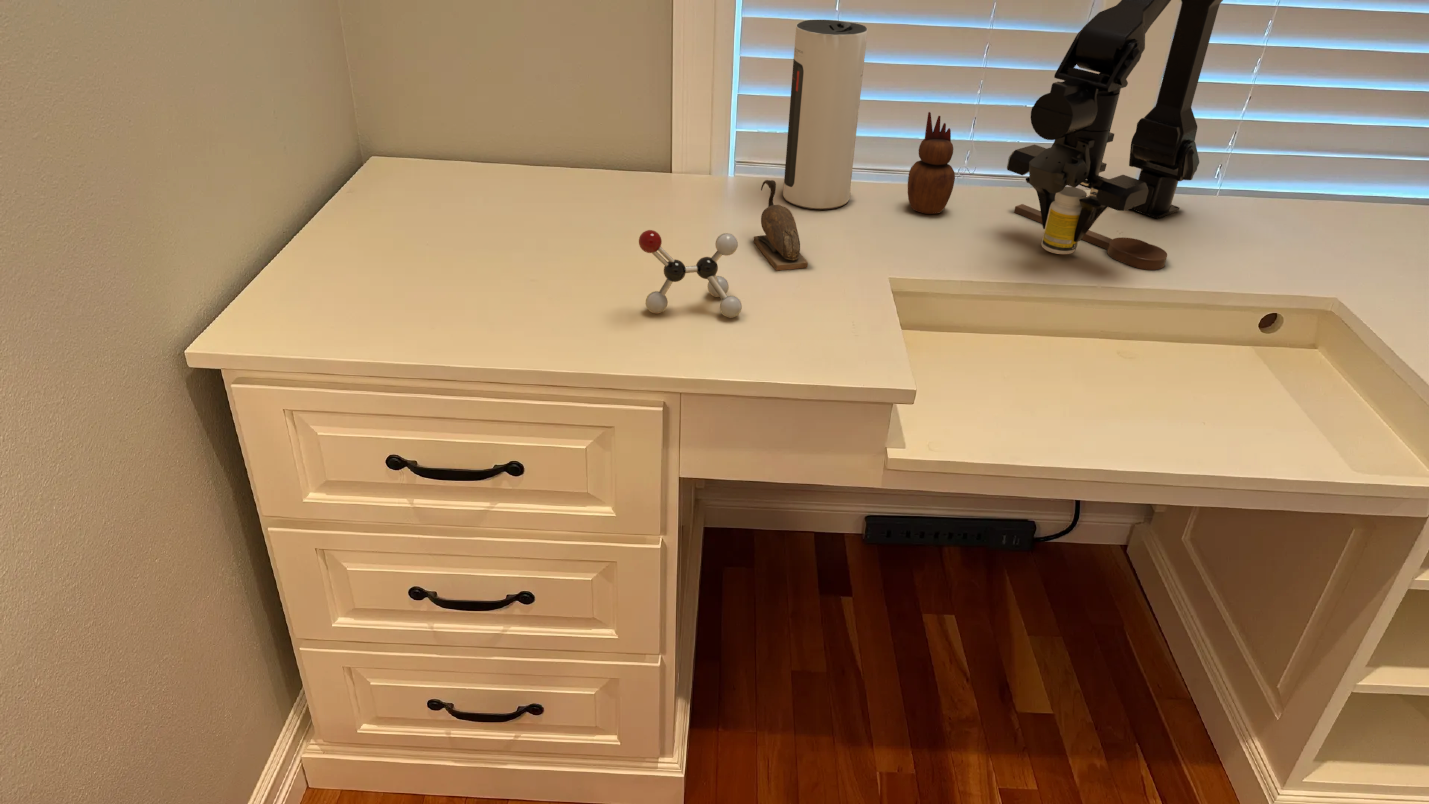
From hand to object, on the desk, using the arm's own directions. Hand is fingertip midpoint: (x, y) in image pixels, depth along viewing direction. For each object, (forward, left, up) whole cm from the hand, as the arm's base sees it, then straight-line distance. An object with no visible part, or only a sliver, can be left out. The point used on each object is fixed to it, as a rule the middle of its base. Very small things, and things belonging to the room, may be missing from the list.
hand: (1061, 234), depth 138 cm
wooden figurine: (+4, -21, -3) cm, 22 cm away
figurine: (+33, -23, -3) cm, 40 cm away
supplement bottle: (0, 0, -2) cm, 2 cm away
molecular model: (+54, -15, -3) cm, 56 cm away
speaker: (+15, -34, -3) cm, 37 cm away
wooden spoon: (-8, -1, -3) cm, 8 cm away
